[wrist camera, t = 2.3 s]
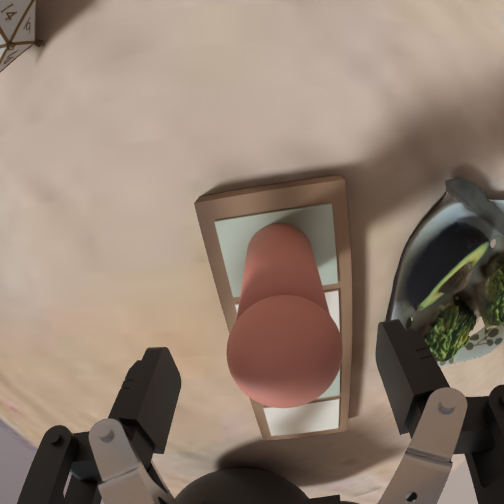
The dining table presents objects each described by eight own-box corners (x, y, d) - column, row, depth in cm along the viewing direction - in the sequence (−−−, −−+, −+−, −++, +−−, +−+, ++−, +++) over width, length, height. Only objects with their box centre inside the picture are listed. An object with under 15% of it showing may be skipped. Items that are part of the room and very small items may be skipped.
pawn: (311, 215, 18) (354, 338, 8) (317, 279, 20) (349, 421, 10) (237, 226, 18) (203, 356, 9) (250, 288, 20) (235, 432, 11)
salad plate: (560, 190, 17) (591, 206, 13) (512, 341, 25) (530, 366, 20) (404, 166, 18) (437, 182, 14) (368, 365, 26) (379, 403, 22)
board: (339, 174, 18) (346, 180, 17) (345, 420, 29) (347, 432, 28) (199, 196, 20) (193, 204, 18) (264, 429, 30) (263, 442, 29)
